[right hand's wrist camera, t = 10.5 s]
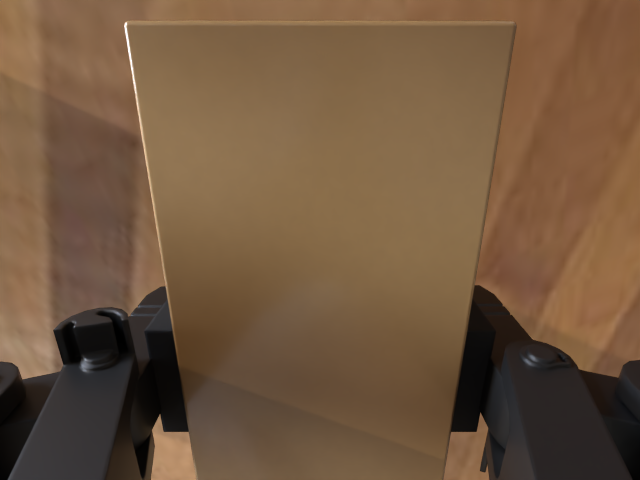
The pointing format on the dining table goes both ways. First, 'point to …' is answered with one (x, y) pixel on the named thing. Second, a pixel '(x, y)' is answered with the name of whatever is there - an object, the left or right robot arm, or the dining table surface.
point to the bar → (320, 232)
